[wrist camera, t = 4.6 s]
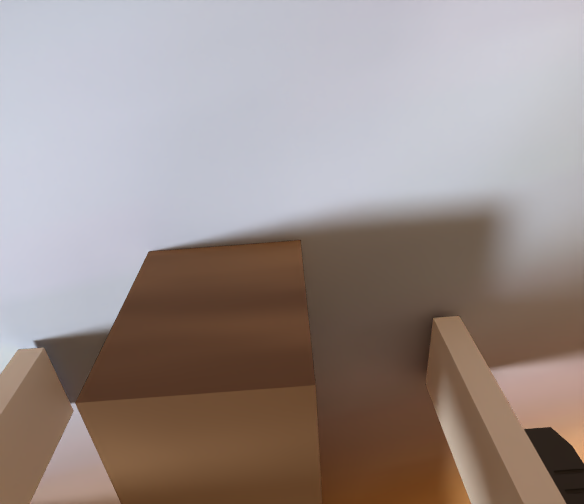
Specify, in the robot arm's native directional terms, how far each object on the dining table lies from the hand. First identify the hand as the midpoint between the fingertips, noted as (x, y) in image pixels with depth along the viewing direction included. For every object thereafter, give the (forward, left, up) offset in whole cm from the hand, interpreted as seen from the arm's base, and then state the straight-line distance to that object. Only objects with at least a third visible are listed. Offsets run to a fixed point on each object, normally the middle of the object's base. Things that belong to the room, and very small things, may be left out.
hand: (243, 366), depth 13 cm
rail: (+3, 0, 0) cm, 3 cm away
